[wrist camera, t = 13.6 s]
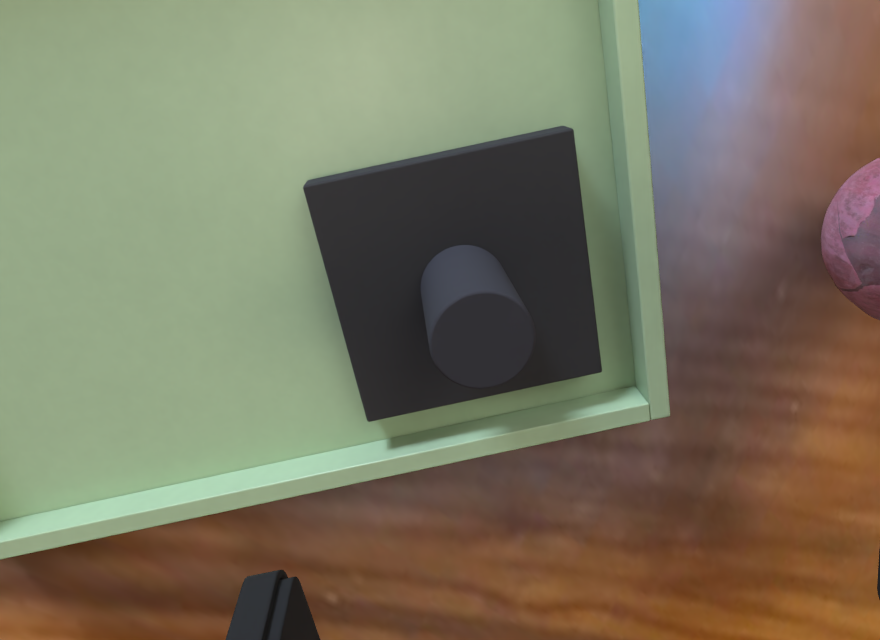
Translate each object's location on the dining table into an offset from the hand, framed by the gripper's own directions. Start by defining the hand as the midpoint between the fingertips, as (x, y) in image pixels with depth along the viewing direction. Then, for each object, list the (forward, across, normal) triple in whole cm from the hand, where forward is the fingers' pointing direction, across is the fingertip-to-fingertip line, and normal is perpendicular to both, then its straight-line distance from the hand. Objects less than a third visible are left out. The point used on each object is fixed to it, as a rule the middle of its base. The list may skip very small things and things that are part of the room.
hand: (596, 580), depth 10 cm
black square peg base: (+15, +1, -1) cm, 15 cm away
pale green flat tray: (+15, +8, -6) cm, 18 cm away
